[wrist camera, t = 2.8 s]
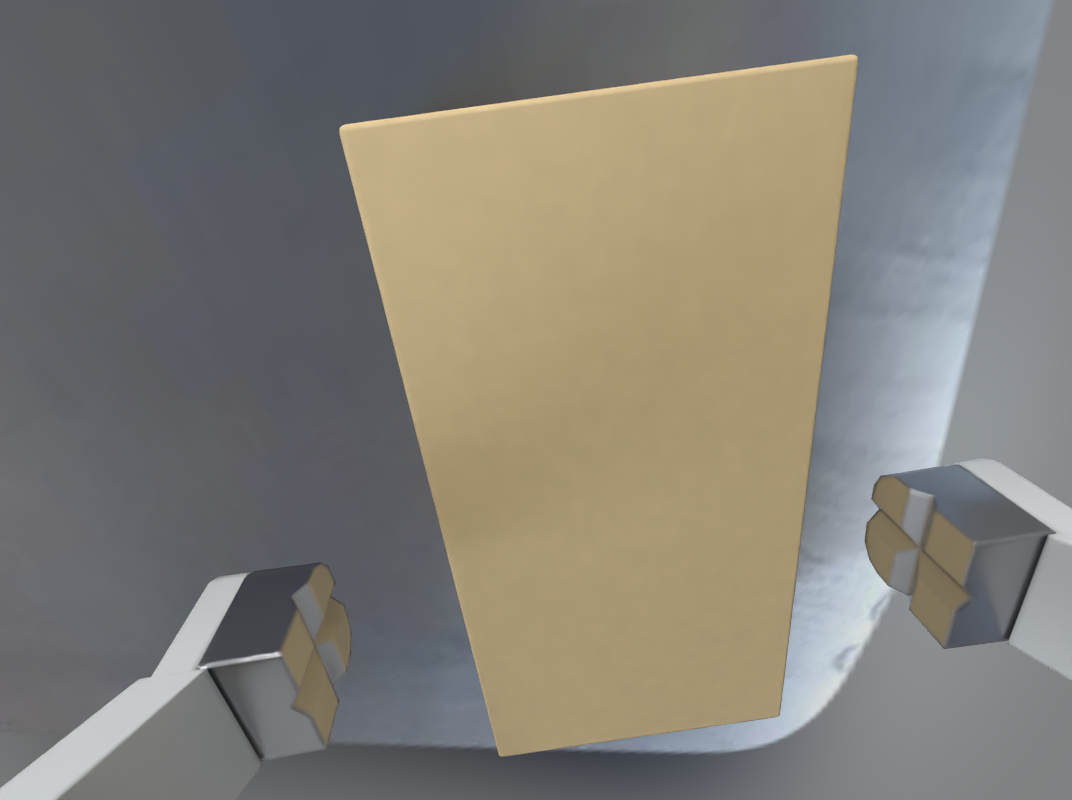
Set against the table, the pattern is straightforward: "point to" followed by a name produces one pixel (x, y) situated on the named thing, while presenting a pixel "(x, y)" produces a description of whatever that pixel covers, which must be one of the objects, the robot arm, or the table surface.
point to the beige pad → (616, 380)
